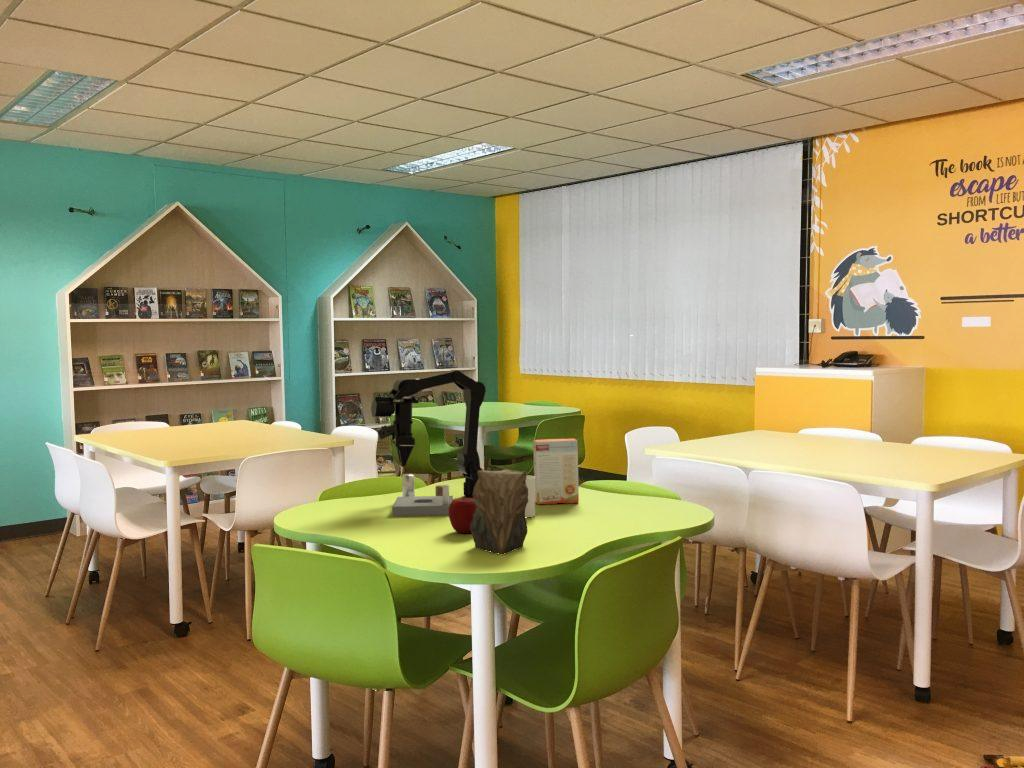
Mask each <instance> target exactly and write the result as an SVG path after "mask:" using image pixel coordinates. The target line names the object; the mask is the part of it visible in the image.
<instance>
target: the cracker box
mask: <svg viewBox="0 0 1024 768" xmlns="http://www.w3.org/2000/svg"><path fill="white" fill-rule="evenodd" d="M578 450H579V449H578V440H577V439H576V438H574V437H573V438H547V439H545V438H544V439H534V440H533V476H535V504H536V503H537V504H536V505H539V504H545V505H558V504H557V503H566V504H578V503H577V502H580V501H579V500H580V496H579V495H580V494H579V452H578ZM539 506H540V505H539Z"/></svg>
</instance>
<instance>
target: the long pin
mask: <svg viewBox="0 0 1024 768" xmlns="http://www.w3.org/2000/svg"><path fill="white" fill-rule="evenodd" d="M401 479H402V480H401V483H402V487H401V488H402V497H415V496H416V495H415V474H413V473H404V474H402V477H401Z"/></svg>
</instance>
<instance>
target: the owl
mask: <svg viewBox="0 0 1024 768" xmlns="http://www.w3.org/2000/svg"><path fill="white" fill-rule="evenodd" d="M477 475H478V481H477V483H476V485H475V487H474V491H473V497H472V498H473V502H474V504H475V506H476V508H477V509H476V510H475V513H474V515H473V519H472V522H471V525H470V529H471V532H470V533H471V536H472V540H473V542H474V548H475V547H476V548H475V549H477V548H480V549H479V550H482V549H483V550H482V551H484V550H487V551H486V552H488V551H491V552H493V553H492V554H494V553H499V554H504V553H506V554H508V553H507V552H509V553H511V552H513V551H515V550H514V549H517V548H518V549H520V548H519V547H521V548H523V547H524V546H523V545H524V542H525V540H526V537H527V535H528V523H527V518H525V509H526V505H527V503H528V488H527V486H526V482H525V481H526V475H527V470H523V471H519V470H514V469H510V468H508V469H507V468H505V469H502V470H493V471H492V470H485V469H483V470H481V471H480V470H479V471H477ZM522 546H523V547H522ZM518 549H517V550H518ZM512 550H513V551H512ZM510 551H511V552H510ZM491 552H490V553H491ZM499 554H498V555H499ZM504 555H505V554H504Z"/></svg>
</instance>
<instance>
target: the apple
mask: <svg viewBox="0 0 1024 768" xmlns="http://www.w3.org/2000/svg"><path fill="white" fill-rule="evenodd" d="M476 509H477V508H476V506H475V504H474V502H473V497H472V498H465V497H464V496H461V498H460V497H459V498H453V501H452V502H451V503H450V505H449V515H448V518H449V521H450V524H451V527H452V529H453V530H454V531H455V532H456V533H460V534H469V533H472V532H471V529H470V525H471V522H472V519H473V515H474V513H475V510H476Z"/></svg>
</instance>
